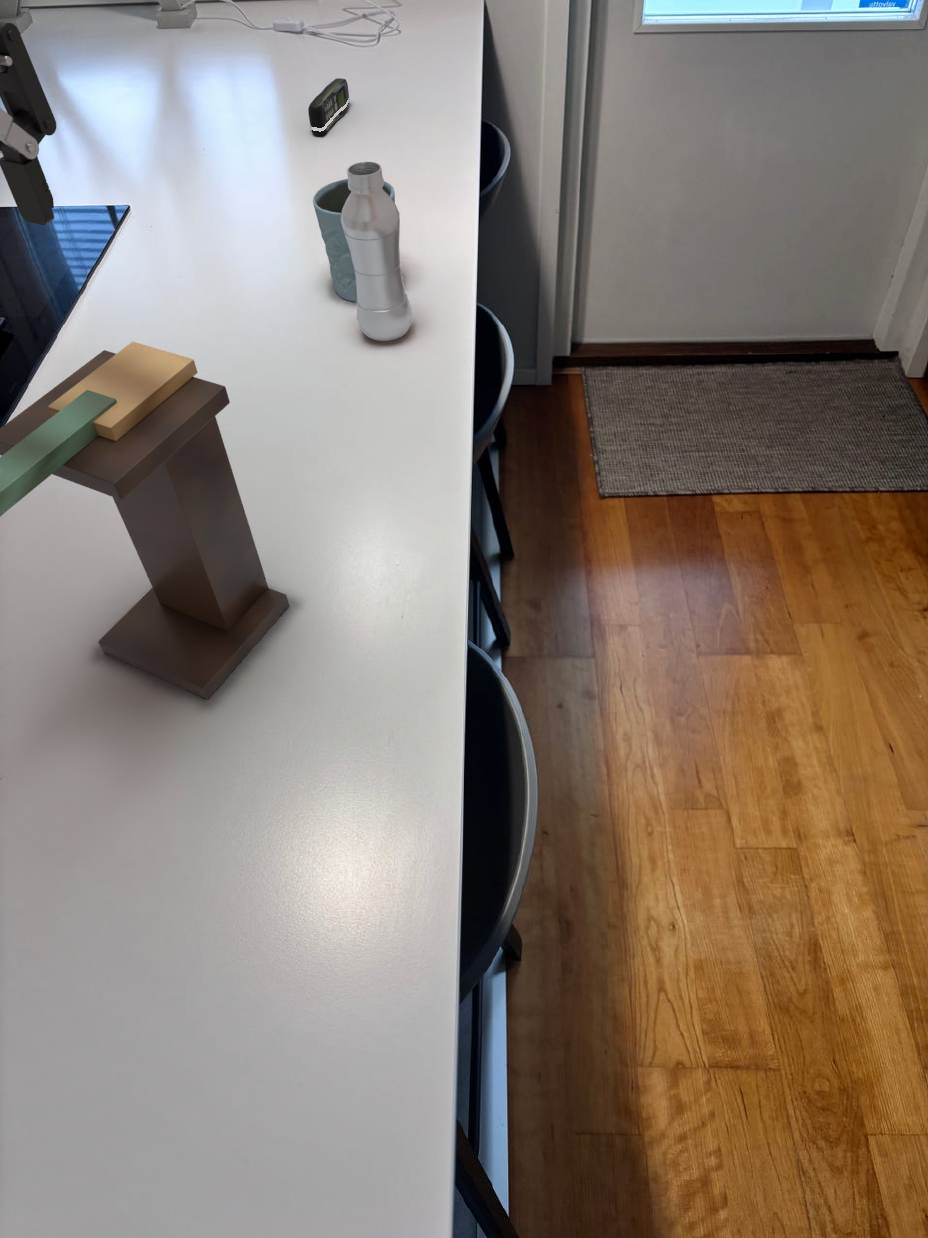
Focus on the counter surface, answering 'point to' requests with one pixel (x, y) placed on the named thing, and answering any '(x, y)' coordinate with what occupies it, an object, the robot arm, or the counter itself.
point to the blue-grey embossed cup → (338, 235)
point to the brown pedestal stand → (175, 535)
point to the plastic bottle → (375, 254)
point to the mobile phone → (328, 105)
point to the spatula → (93, 414)
